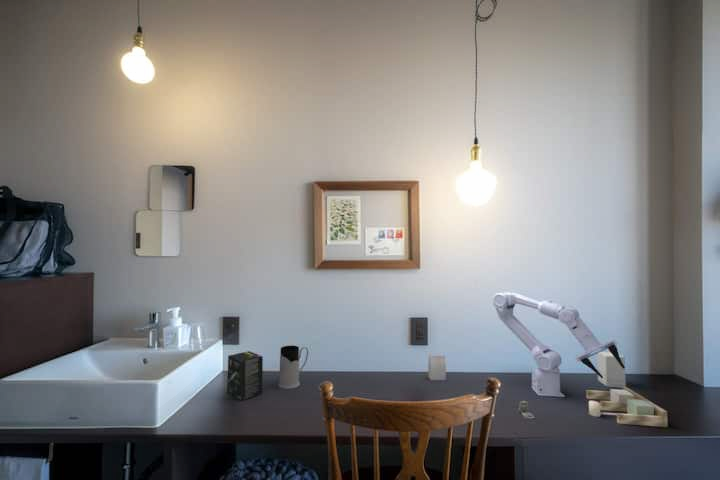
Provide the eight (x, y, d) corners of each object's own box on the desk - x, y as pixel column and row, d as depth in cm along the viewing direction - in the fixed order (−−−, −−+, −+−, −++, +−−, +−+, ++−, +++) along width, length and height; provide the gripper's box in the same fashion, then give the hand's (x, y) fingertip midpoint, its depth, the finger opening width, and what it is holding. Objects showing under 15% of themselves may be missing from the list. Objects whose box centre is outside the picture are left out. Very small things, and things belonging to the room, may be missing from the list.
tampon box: (263, 394, 128) (263, 355, 129) (240, 401, 121) (241, 361, 122) (248, 386, 136) (249, 350, 136) (226, 393, 129) (227, 354, 130)
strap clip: (535, 420, 110) (535, 407, 111) (526, 420, 110) (526, 407, 110) (521, 408, 119) (521, 396, 119) (513, 408, 119) (513, 396, 119)
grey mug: (273, 384, 138) (274, 348, 138) (300, 375, 148) (301, 341, 149) (287, 390, 132) (287, 352, 133) (314, 380, 143) (314, 345, 143)
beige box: (445, 380, 144) (445, 356, 145) (430, 380, 144) (430, 356, 145) (443, 377, 148) (443, 354, 149) (428, 377, 148) (428, 354, 149)
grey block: (619, 408, 119) (618, 394, 119) (610, 402, 124) (610, 389, 124) (634, 409, 118) (634, 395, 118) (625, 403, 123) (625, 389, 123)
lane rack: (618, 423, 108) (618, 408, 108) (586, 397, 127) (586, 384, 128) (667, 427, 106) (667, 411, 106) (626, 400, 125) (626, 387, 126)
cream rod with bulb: (593, 417, 111) (593, 402, 111) (585, 410, 116) (585, 396, 116) (654, 422, 109) (653, 406, 109) (643, 414, 113) (643, 400, 114)
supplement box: (626, 388, 137) (625, 357, 138) (606, 386, 139) (605, 356, 139) (616, 381, 144) (615, 352, 145) (597, 380, 146) (596, 351, 146)
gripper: (566, 346, 123) (593, 383, 116) (605, 327, 118) (635, 364, 111) (566, 346, 128) (592, 381, 122) (604, 327, 124) (632, 363, 117)
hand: (613, 373), depth 117 cm, fingers open, 7 cm apart
